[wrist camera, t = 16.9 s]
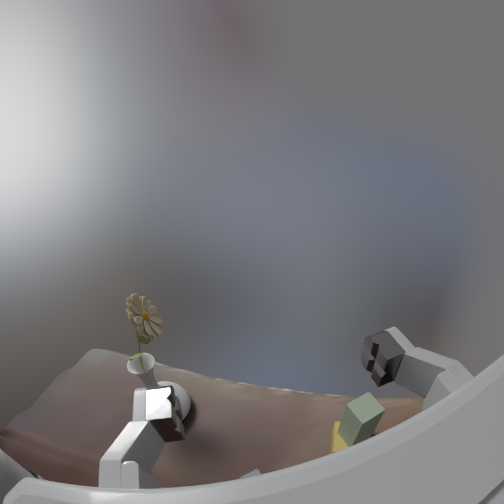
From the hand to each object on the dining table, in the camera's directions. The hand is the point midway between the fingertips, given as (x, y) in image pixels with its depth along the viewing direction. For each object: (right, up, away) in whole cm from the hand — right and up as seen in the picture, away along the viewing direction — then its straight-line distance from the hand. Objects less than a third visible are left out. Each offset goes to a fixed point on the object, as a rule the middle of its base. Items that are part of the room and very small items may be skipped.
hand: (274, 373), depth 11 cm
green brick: (+15, -24, +27) cm, 39 cm away
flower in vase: (-17, -25, +39) cm, 50 cm away
